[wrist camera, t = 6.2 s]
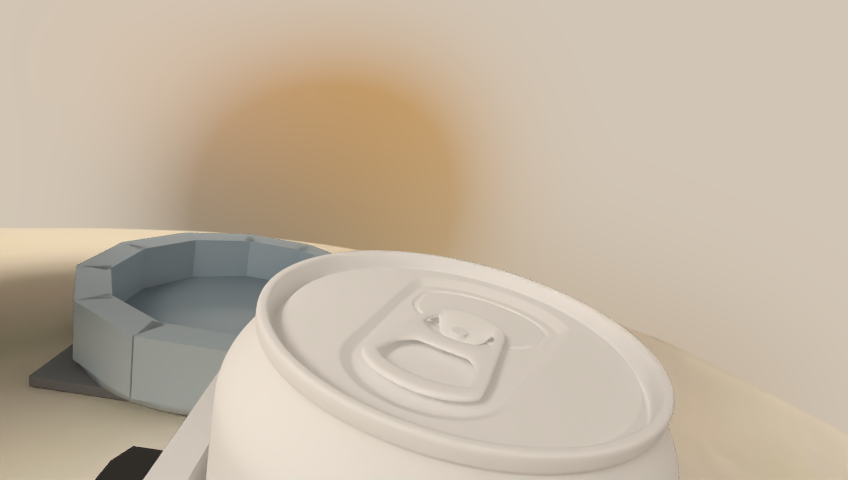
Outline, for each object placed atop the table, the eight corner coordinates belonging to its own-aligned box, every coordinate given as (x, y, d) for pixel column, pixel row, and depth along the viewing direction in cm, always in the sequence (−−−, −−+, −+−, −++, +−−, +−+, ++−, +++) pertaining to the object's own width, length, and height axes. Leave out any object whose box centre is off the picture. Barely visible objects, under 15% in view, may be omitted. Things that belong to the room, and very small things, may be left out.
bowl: (-13, 384, 21) (-16, 311, 21) (164, 263, 37) (167, 219, 36) (362, 442, 23) (375, 375, 22) (382, 301, 38) (390, 259, 37)
